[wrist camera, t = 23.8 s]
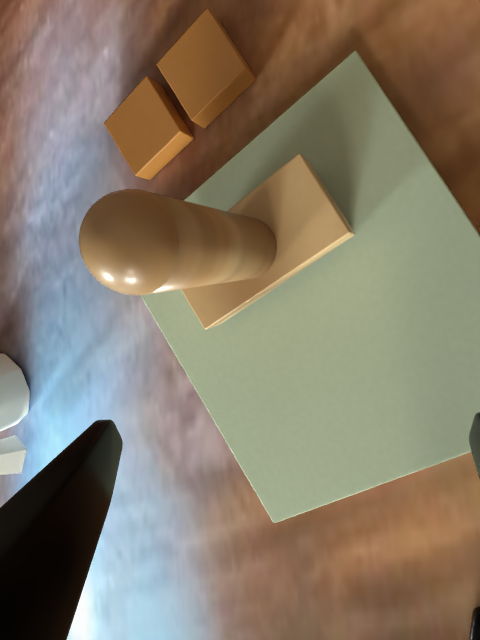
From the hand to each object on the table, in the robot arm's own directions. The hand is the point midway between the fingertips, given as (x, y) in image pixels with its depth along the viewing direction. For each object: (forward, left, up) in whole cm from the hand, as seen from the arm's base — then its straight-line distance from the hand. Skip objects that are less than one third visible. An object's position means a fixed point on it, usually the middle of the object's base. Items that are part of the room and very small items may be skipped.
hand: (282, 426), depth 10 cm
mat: (+1, +2, -13) cm, 13 cm away
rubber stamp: (+5, +5, -12) cm, 14 cm away
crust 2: (+14, +9, -13) cm, 21 cm away
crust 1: (+12, +13, -13) cm, 22 cm away
